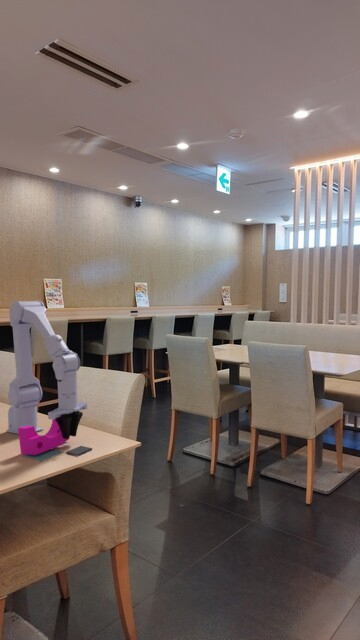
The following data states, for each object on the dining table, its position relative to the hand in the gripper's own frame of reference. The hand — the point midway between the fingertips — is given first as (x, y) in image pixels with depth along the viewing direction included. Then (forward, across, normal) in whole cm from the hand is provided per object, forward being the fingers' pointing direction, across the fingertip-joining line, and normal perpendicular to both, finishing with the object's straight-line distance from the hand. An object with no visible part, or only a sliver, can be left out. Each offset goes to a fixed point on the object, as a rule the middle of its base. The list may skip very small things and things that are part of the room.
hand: (69, 437), depth 141 cm
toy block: (+2, -6, +3) cm, 7 cm away
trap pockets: (+2, -3, +1) cm, 4 cm away
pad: (+2, -10, +1) cm, 10 cm away
